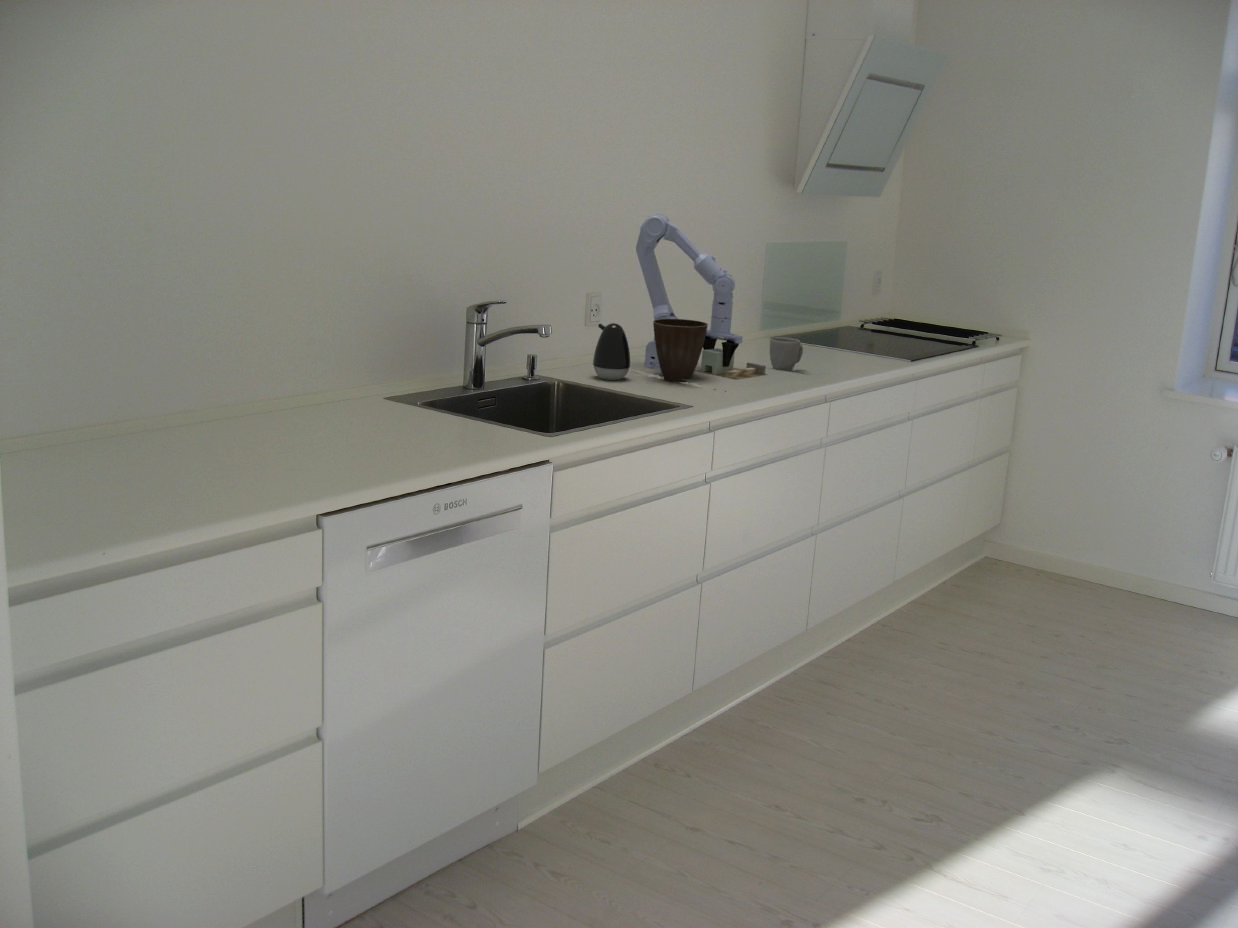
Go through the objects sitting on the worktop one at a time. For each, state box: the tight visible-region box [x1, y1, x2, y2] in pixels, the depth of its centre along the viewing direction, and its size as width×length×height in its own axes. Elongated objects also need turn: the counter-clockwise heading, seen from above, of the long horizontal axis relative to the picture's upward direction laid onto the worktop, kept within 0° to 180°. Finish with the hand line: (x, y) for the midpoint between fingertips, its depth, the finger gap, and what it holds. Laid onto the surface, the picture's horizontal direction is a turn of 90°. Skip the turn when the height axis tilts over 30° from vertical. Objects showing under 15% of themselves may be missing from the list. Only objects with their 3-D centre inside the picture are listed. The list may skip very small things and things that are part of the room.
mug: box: [769, 336, 804, 373], centre depth 334 cm, size 12×9×10 cm
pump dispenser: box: [592, 322, 631, 381], centre depth 305 cm, size 10×10×15 cm
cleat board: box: [695, 362, 768, 380], centre depth 321 cm, size 15×15×4 cm
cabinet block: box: [700, 347, 736, 374], centre depth 322 cm, size 8×6×6 cm
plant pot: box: [653, 318, 709, 383], centre depth 309 cm, size 15×15×16 cm
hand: (717, 364), depth 322 cm, fingers closed on cabinet block, 5 cm apart
